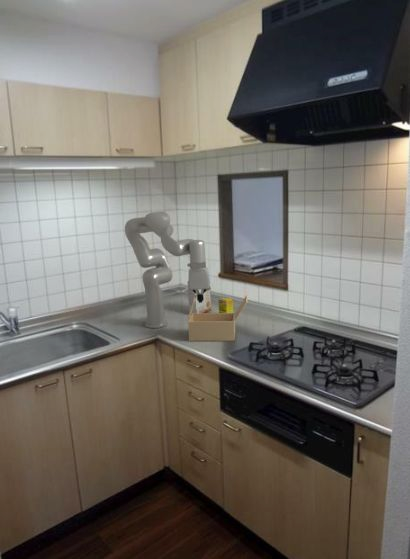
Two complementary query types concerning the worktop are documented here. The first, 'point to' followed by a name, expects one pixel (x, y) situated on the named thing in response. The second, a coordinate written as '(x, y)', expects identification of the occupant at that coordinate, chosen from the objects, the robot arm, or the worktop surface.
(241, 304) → the flap
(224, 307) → the supplement box
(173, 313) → the worktop surface
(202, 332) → the carton
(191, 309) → the flap
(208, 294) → the cracker box
